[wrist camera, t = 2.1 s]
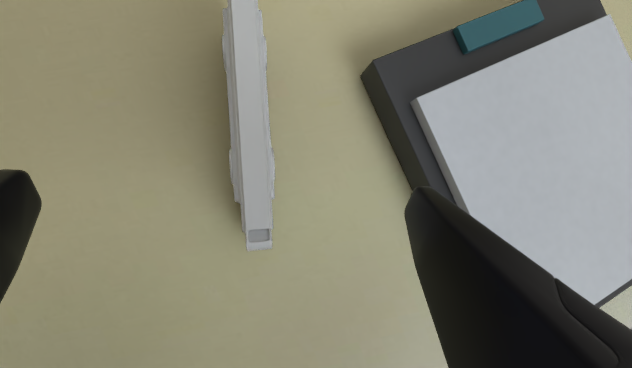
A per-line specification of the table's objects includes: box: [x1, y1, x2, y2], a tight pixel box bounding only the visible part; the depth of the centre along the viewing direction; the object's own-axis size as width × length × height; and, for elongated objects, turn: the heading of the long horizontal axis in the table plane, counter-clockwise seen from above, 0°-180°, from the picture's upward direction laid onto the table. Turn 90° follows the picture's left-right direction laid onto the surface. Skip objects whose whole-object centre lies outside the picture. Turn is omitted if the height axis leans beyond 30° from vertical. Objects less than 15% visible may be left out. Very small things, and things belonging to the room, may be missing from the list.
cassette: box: [222, 0, 275, 251], centre depth 15 cm, size 12×2×8 cm, turn 4°
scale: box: [360, 0, 632, 308], centre depth 21 cm, size 19×17×3 cm
